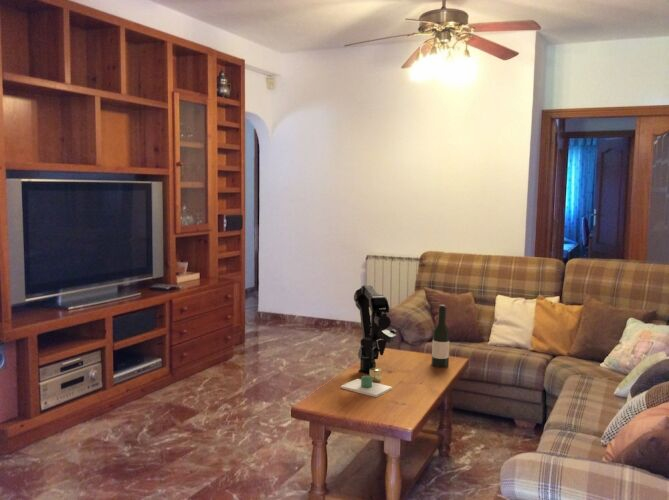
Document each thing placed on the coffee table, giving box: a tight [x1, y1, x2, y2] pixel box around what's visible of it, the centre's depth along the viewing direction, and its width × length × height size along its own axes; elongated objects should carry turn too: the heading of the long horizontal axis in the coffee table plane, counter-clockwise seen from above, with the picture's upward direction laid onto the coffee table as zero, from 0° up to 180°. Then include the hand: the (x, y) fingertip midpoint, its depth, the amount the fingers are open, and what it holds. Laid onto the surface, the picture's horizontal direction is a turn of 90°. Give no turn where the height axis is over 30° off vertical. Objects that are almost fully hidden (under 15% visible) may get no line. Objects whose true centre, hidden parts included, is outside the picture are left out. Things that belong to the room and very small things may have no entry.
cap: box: [368, 367, 382, 383], centre depth 278 cm, size 5×6×5 cm
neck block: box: [340, 375, 393, 398], centre depth 267 cm, size 18×13×5 cm
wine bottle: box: [431, 304, 451, 368], centre depth 303 cm, size 8×8×30 cm
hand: (376, 357), depth 278 cm, fingers open, 9 cm apart
